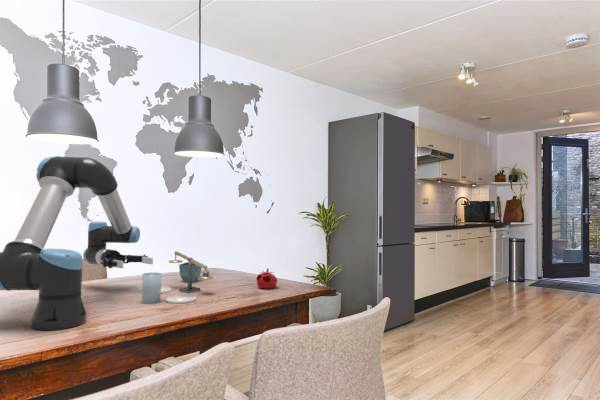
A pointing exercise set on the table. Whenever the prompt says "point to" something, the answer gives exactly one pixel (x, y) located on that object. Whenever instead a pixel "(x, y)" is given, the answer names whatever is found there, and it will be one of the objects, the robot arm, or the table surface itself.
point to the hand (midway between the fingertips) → (137, 263)
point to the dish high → (165, 289)
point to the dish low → (180, 299)
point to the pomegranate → (266, 280)
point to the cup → (151, 288)
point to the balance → (190, 262)
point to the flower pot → (184, 272)
